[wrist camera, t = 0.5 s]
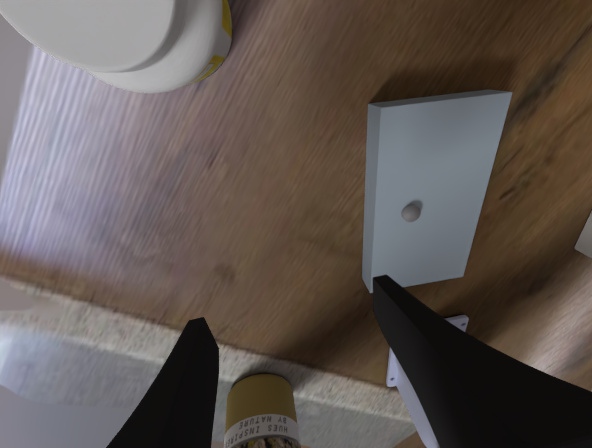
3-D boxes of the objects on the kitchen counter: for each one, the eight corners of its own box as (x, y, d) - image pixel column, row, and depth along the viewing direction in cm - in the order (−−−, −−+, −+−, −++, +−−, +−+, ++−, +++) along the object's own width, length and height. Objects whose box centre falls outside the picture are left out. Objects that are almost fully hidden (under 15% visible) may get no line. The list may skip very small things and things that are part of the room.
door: (445, 259, 26) (466, 279, 23) (359, 274, 25) (372, 296, 23) (483, 88, 19) (518, 92, 16) (365, 102, 18) (383, 109, 16)
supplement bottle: (133, -81, 12) (-114, -396, 4) (249, -4, 14) (253, -103, 6) (105, 48, 14) (-96, 25, 6) (211, 101, 16) (172, 142, 8)
